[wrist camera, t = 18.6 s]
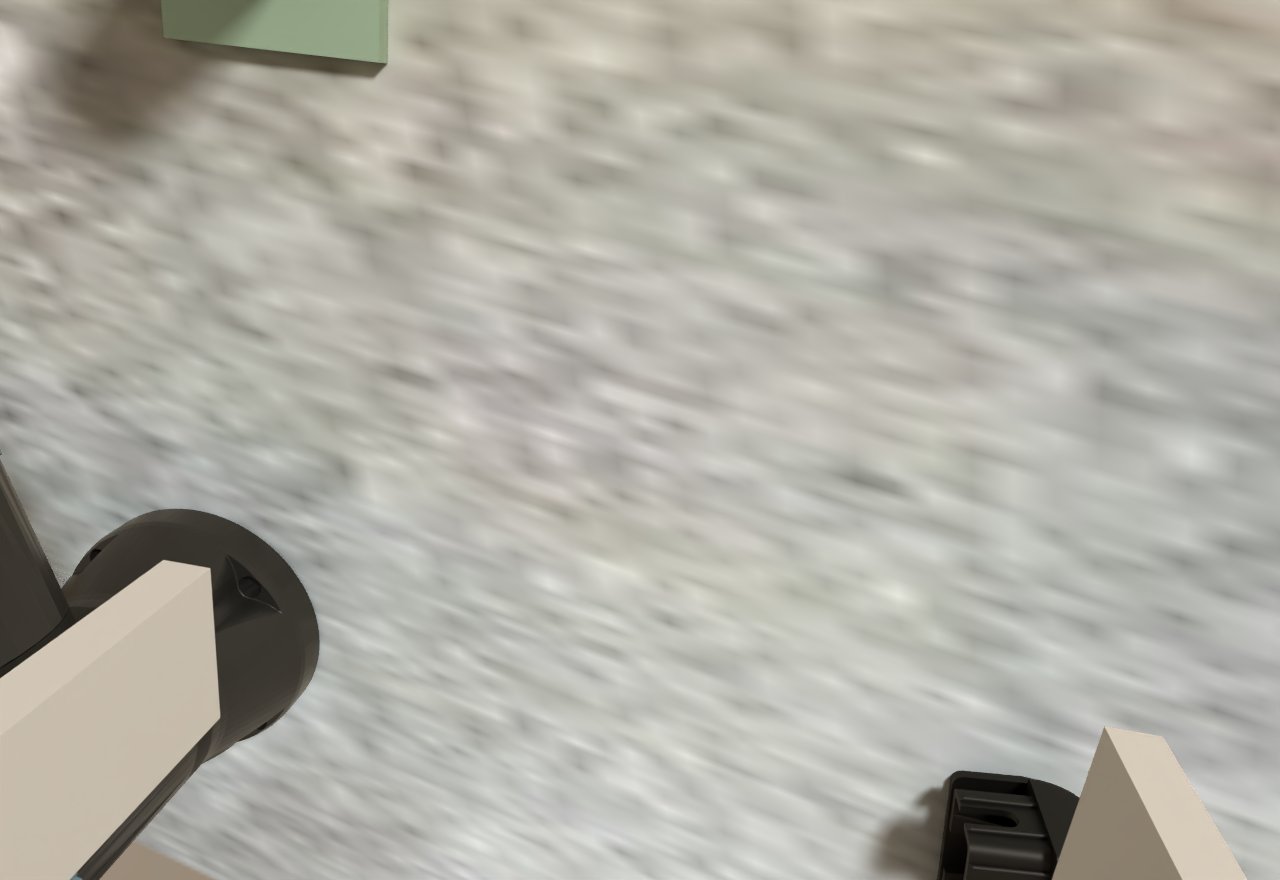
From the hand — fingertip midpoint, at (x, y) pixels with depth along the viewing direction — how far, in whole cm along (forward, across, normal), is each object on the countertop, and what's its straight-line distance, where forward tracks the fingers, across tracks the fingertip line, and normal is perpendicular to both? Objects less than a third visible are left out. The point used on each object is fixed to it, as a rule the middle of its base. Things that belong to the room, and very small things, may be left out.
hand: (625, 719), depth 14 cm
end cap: (+35, +20, -30) cm, 50 cm away
